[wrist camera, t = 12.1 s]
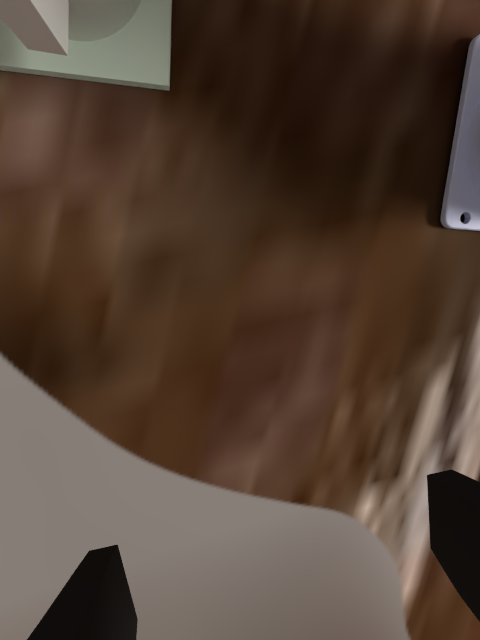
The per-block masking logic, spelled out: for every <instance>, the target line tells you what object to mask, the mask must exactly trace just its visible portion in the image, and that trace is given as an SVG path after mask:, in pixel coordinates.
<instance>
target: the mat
mask: <svg viewBox="0 0 480 640" xmlns="http://www.w3.org/2000/svg"><path fill="white" fill-rule="evenodd" d="M171 22H172V0H141V1H140V4H139V6H138V8H137V10H136V12H135V14H134V15H133V16H132V18H131V19H130V21H129V22H128V23H127V24H126V25H125V26H124V27H123V28H121V29H120V30H119V31H117V32H116V33H114V34H112V35H110V36H108V37H106V38H103V39H100V40H95V41H73V40H69V39H68V56H65V55H59V54H53V53H47V52H41V51H35V50H29V49H27V48H26V47H25V45H24V44H23V43H22V42H21V41H20V40H19V38H18V37H17V36H16V35H15V34H14V33H13V32H12V30H11V29H10V28H9V27H8V26H7V25H6V23H5V22H4V21H3V20H2V19H1V18H0V70H2V71H10V72H19V73H27V74H35V75H43V76H52V77H60V78H68V79H76V80H85V81H93V82H101V83H109V84H118V85H126V86H134V87H142V88H151V89H159V90H167V91H170V57H171Z"/></svg>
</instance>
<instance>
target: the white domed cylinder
mask: <svg viewBox="0 0 480 640" xmlns="http://www.w3.org/2000/svg"><path fill="white" fill-rule="evenodd" d="M140 1H141V0H0V18H1V19H2V20H3V21H4V22H5V23H6V25H7V26H8V27H9V28H10V29H11V30H12V32H13V33H14V34H15V35H16V36H17V37H18V38H19V40H20V41H21V42H22V43H23V44H24V45H25V47H26V48H27V49H29V50H35V51H41V52H47V53H53V54H59V55H65V56H68V39H69V40H73V41H95V40H100V39H103V38H106V37H108V36H110V35H112V34H114V33H116V32H117V31H119V30H120V29H121V28H123V27H124V26H125V25H126V24H127V23H128V22H129V21H130V19H131V18H132V16H133V15H134V14H135V12H136V10H137V8H138V6H139V4H140Z"/></svg>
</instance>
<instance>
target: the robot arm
mask: <svg viewBox="0 0 480 640" xmlns="http://www.w3.org/2000/svg"><path fill="white" fill-rule="evenodd" d="M461 214H464V216H465V220H464V222H463V223H462V222H461V221H460V217H461ZM441 223H442V225H443V226H444V227H445V228H448V229H460V230H472V231H480V34H479V35H478V36H476V37H475V38H474V39H473V40H472V41H471V42H470V45H469V49H468V55H467V61H466V67H465V73H464V79H463V85H462V91H461V97H460V103H459V109H458V115H457V121H456V127H455V133H454V139H453V145H452V151H451V157H450V163H449V169H448V175H447V181H446V187H445V193H444V199H443V205H442V211H441ZM427 482H428V503H429V524H430V545H431V549H432V551H433V553H434V554H435V556H436V558H437V559H438V561H439V563H440V564H441V566H442V568H443V569H444V571H445V573H446V574H447V576H448V577H449V579H450V581H451V582H452V584H453V585H454V587H455V588H456V590H457V592H458V593H459V595H460V596H461V597H462V599H463V600H464V601H465V603H466V604H467V606H468V607H469V608H470V609H471V611H472V612H473V613H474V615H475V616H476V617H477V619H478V620H479V621H480V482H478V481H476V480H474V479H471V478H469V477H467V476H465V475H463V474H460V473H458V472H456V471H453V470H448V471H443V472H439V473H434V474H430V475H427ZM136 633H137V616H136V612H135V608H134V604H133V601H132V597H131V594H130V589H129V586H128V582H127V578H126V575H125V571H124V567H123V563H122V560H121V556H120V552H119V548H118V545H114V546H109V547H105V548H101V549H96V550H91V551H89V552H88V553H87V555H86V556H85V557H84V559H83V560H82V562H81V563H80V565H79V566H78V568H77V569H76V570H75V572H74V573H73V575H72V576H71V577H70V579H69V580H68V582H67V583H66V585H65V586H64V588H63V589H62V591H61V592H60V594H59V595H58V596H57V598H56V599H55V601H54V602H53V604H52V605H51V606H50V608H49V609H48V611H47V612H46V614H45V615H44V616H43V618H42V620H41V621H40V622H39V624H38V625H37V627H36V628H35V629H34V631H33V632H32V633H31V635H30V636H29V638H28V639H27V640H136Z"/></svg>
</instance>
